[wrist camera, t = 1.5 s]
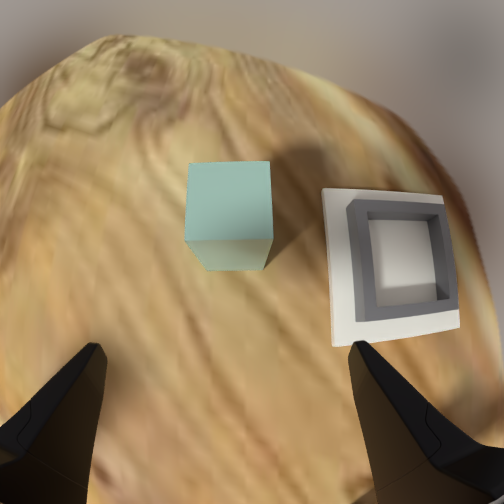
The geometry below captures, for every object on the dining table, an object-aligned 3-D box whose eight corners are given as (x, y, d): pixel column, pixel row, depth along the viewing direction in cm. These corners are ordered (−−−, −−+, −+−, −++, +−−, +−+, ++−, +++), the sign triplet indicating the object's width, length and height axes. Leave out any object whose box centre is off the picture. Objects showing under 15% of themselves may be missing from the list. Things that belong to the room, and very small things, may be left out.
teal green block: (262, 270, 23) (273, 238, 15) (207, 271, 23) (184, 240, 14) (261, 217, 24) (269, 161, 16) (207, 218, 24) (188, 163, 15)
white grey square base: (454, 327, 22) (472, 326, 20) (331, 345, 22) (342, 349, 19) (438, 198, 25) (453, 187, 23) (320, 191, 25) (329, 177, 22)
